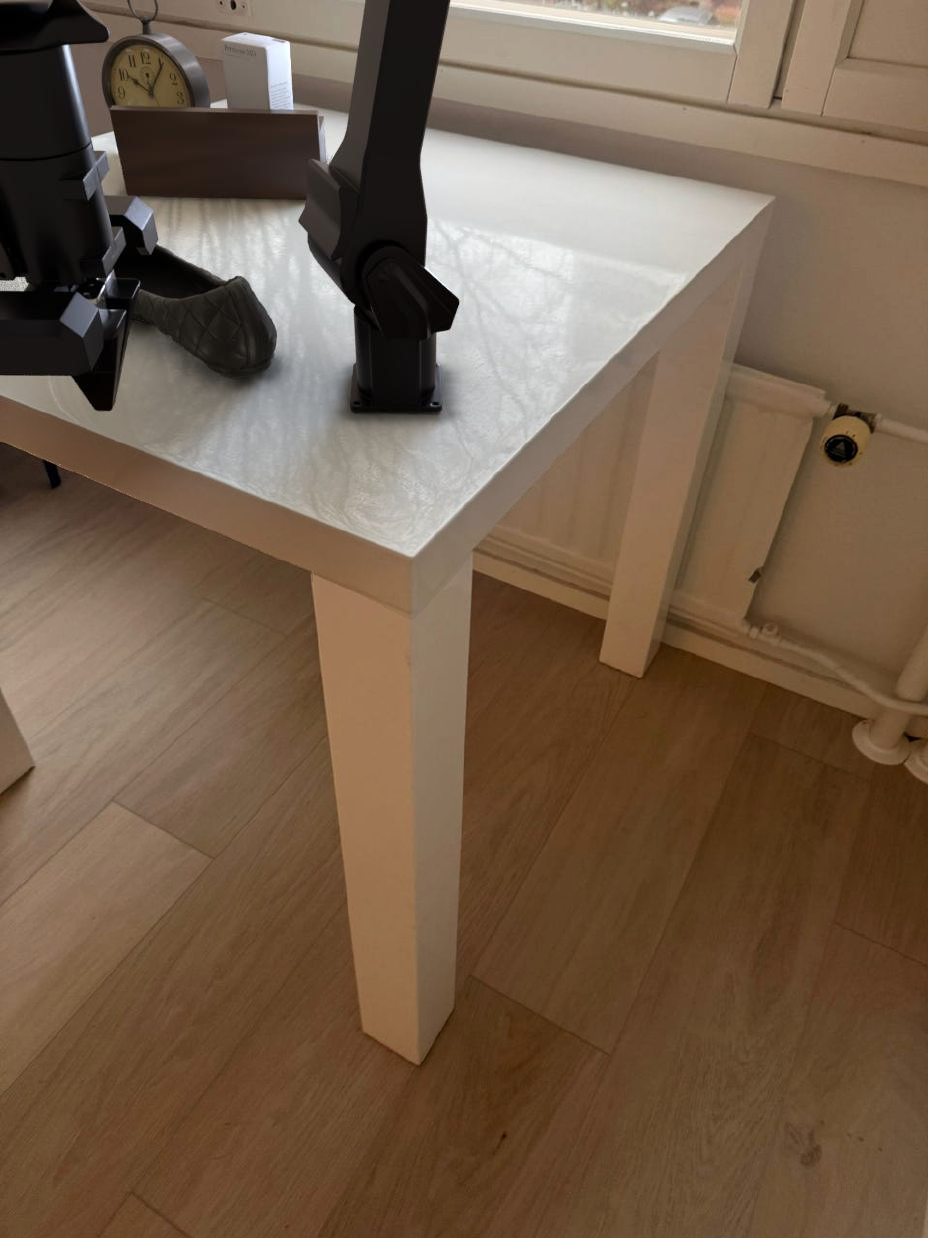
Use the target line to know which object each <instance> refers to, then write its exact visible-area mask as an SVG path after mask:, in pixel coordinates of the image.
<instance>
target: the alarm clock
mask: <svg viewBox="0 0 928 1238" xmlns="http://www.w3.org/2000/svg"><path fill="white" fill-rule="evenodd" d="M126 2H127V5H128V8H129V10H130V11H131V13H132V14H133V15H134V17H135V18H136V19H138V20H140V23H141V26H142V28H141V29H142V31H141V33H137V34H132V35H126V36H124V37H121V38H119V39H118V40H116V41H115V42H113V44H112V45H111V46H110V47H109V49H108V50H107V52H106V54H105V56H104V59H103V63H102V67H101V89H102V94H103V97H104V101H105V105H106V107H107V109H108V111H109V109H110V108H111V107H112V106H113V105H115V106H157V107H198V108H211V107H212V106H211V104H212V103H211V93H210V87H209V83H208V79H207V77H206V75H205V72H204V69H203V68H202V66H201V65H200V63H199V62H198V60H197V58H196V57H195V56H194V54H193V53H192V52H191V51H190V50H189V49H188V47H187V46H185V45H184V44H183V43H182V42H181V41H180V40H178V39H176V38H175V37H173V36H171V35H168V34H166V33H162V32H160V31H159V32H158V31H152V28H151V22H153V21H154V20H156V19H157V16H158V14H159V3H158V2H159V1H158V0H153V3H154V5H155V9H154V10H155V11H154V14H153V15H152V16H151V17H149V16H147V15H141V16H139V15H138V14H137V13H136V12H135V10H134V8H133V6H132V4H131V0H126ZM109 113H110V111H109Z"/></svg>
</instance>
